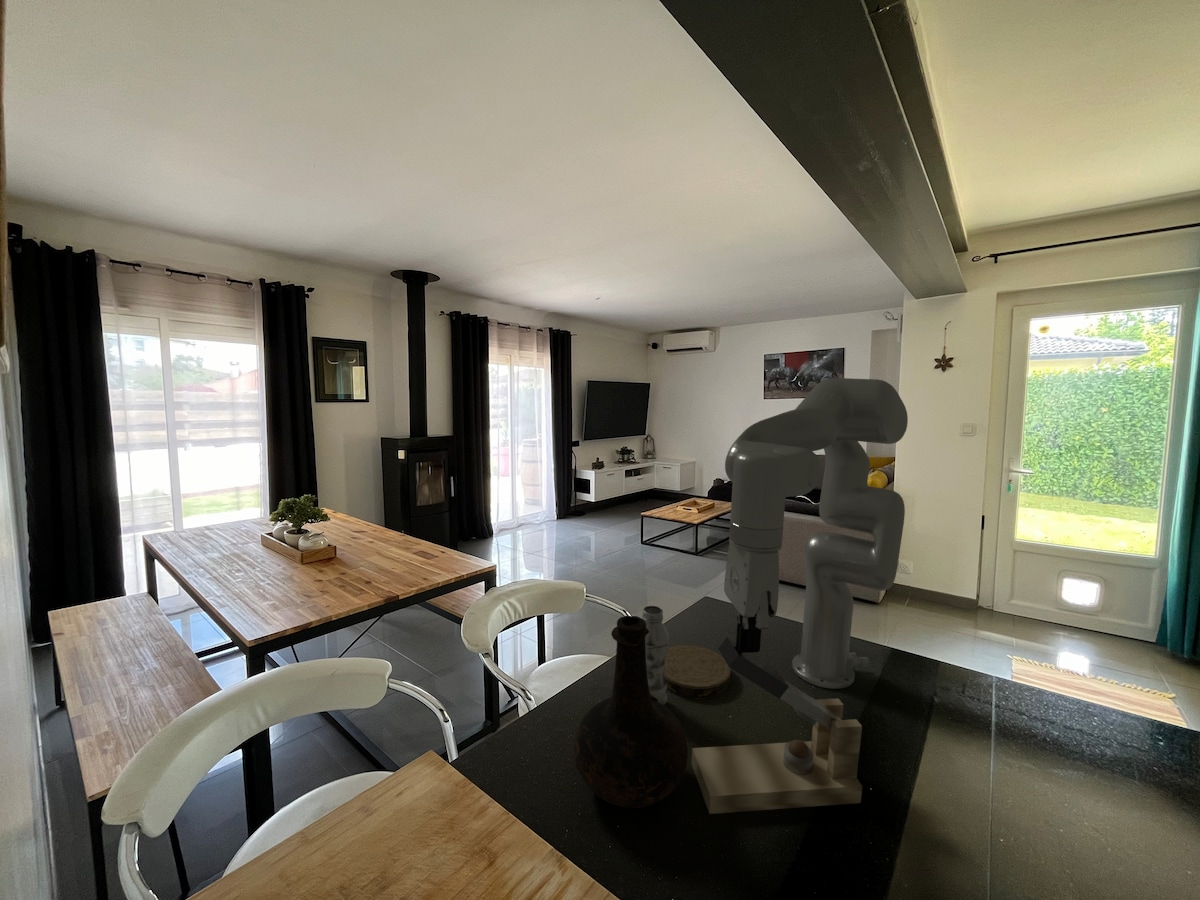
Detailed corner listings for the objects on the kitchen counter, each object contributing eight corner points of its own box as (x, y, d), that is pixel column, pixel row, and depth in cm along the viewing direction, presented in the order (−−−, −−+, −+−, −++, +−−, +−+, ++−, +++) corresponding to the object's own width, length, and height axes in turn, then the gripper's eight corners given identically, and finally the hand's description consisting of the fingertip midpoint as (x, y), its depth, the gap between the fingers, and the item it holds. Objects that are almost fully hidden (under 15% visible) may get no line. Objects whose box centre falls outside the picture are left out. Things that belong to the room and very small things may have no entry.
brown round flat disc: (686, 709, 104) (686, 695, 103) (641, 668, 118) (641, 655, 117) (746, 686, 112) (746, 673, 111) (697, 650, 125) (697, 638, 125)
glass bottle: (697, 762, 90) (705, 607, 85) (666, 849, 74) (674, 664, 69) (601, 731, 97) (604, 587, 92) (554, 804, 81) (554, 634, 76)
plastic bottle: (666, 717, 101) (669, 619, 97) (630, 712, 102) (633, 615, 99) (668, 697, 107) (672, 604, 104) (635, 692, 108) (637, 600, 105)
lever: (821, 721, 87) (834, 706, 87) (838, 743, 83) (851, 726, 82) (714, 653, 83) (727, 636, 83) (724, 672, 79) (738, 654, 78)
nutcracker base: (827, 755, 92) (833, 692, 90) (860, 803, 82) (868, 733, 80) (691, 764, 89) (694, 699, 87) (709, 813, 79) (713, 742, 77)
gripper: (715, 519, 85) (709, 626, 88) (750, 552, 70) (741, 679, 73) (760, 519, 86) (752, 625, 89) (804, 551, 71) (793, 677, 74)
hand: (747, 649), depth 81 cm, fingers closed
